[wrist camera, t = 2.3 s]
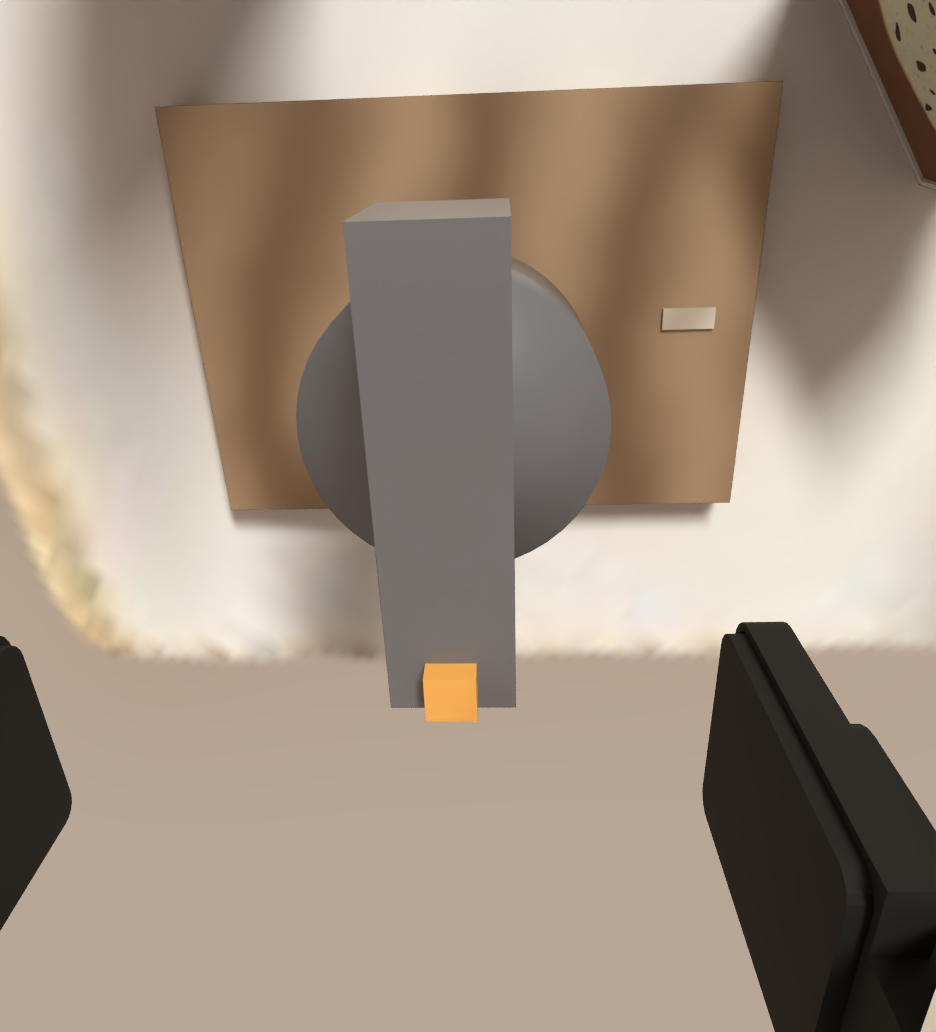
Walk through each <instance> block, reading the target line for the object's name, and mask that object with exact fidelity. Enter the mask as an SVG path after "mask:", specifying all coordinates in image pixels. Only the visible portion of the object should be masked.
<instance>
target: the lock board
mask: <svg viewBox="0 0 936 1032" xmlns="http://www.w3.org/2000/svg"><path fill="white" fill-rule="evenodd" d="M782 85H783V81H767V82H743V83H719V84H695V85H670V86H646V87H622V88H598V89H574V90H550V91H526V92H502V93H478V94H454V95H429V96H405V97H381V98H357V99H333V100H309V101H285V102H261V103H237V104H213V105H188V106H164V107H155V111H156V116H157V121H158V127H159V132H160V137H161V142H162V148H163V153H164V158H165V164H166V169H167V174H168V179H169V185H170V190H171V195H172V201H173V206H174V211H175V216H176V222H177V227H178V232H179V237H180V243H181V248H182V253H183V259H184V264H185V269H186V274H187V280H188V285H189V290H190V296H191V301H192V306H193V311H194V317H195V322H196V327H197V333H198V338H199V343H200V348H201V354H202V359H203V364H204V370H205V375H206V380H207V385H208V391H209V396H210V401H211V407H212V412H213V417H214V422H215V428H216V433H217V438H218V444H219V449H220V454H221V459H222V465H223V470H224V475H225V481H226V486H227V491H228V496H229V502H230V507H231V510H254V509H322V508H328V506H327V505H326V504H325V502H324V501H323V499H322V498H321V496H320V495H319V493H318V492H317V490H316V488H315V486H314V484H313V483H312V481H311V479H310V477H309V475H308V472H307V470H306V467H305V464H304V461H303V458H302V455H301V451H300V446H299V442H298V437H297V425H296V408H297V396H298V391H299V386H300V381H301V377H302V374H303V371H304V369H305V366H306V363H307V360H308V358H309V356H310V354H311V352H312V350H313V349H314V347H315V345H316V343H317V341H318V340H319V338H320V337H321V336H322V334H323V333H324V331H325V330H326V329H327V327H328V326H329V325H330V323H331V322H332V321H333V320H334V319H335V318H336V317H337V315H338V314H339V313H340V312H341V311H342V310H343V309H344V307H345V306H346V305H347V304H348V303H349V302H350V293H349V283H348V273H347V263H346V253H345V243H344V233H343V223H342V222H343V221H345V220H347V219H348V218H350V217H352V216H353V215H355V214H357V213H359V212H360V211H362V210H364V209H365V208H367V207H369V206H370V205H372V204H374V203H380V202H409V201H438V200H467V199H496V198H509V201H510V211H511V257H513V258H515V259H517V260H519V261H521V262H523V263H525V264H527V265H529V266H530V267H532V268H533V269H535V270H536V271H538V272H539V273H541V274H542V275H543V276H545V277H546V278H547V279H548V280H549V281H550V282H551V283H552V284H554V285H555V286H556V287H557V288H558V289H559V291H560V292H561V293H562V294H563V295H564V296H565V298H566V299H567V300H568V301H569V303H570V304H571V306H572V307H573V309H574V310H575V312H576V313H577V315H578V317H579V319H580V321H581V323H582V325H583V327H584V329H585V332H586V334H587V336H588V339H589V341H590V344H591V346H592V349H593V351H594V353H595V356H596V358H597V361H598V363H599V366H600V368H601V371H602V374H603V377H604V380H605V383H606V387H607V390H608V396H609V402H610V408H611V436H610V444H609V451H608V454H607V458H606V462H605V466H604V469H603V471H602V474H601V476H600V479H599V481H598V484H597V486H596V488H595V489H594V491H593V493H592V494H591V496H590V498H589V500H588V501H587V503H586V504H585V505H593V504H661V503H729V502H730V497H731V489H732V481H733V473H734V465H735V457H736V449H737V441H738V433H739V426H740V418H741V410H742V402H743V394H744V386H745V378H746V370H747V362H748V354H749V346H750V338H751V330H752V323H753V315H754V307H755V299H756V291H757V283H758V275H759V267H760V259H761V251H762V243H763V235H764V227H765V220H766V212H767V204H768V196H769V188H770V180H771V172H772V164H773V156H774V148H775V140H776V132H777V124H778V117H779V109H780V101H781V93H782Z"/></svg>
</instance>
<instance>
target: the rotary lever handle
mask: <svg viewBox="0 0 936 1032" xmlns="http://www.w3.org/2000/svg"><path fill="white" fill-rule="evenodd" d="M342 223H343V233H344V243H345V253H346V263H347V273H348V283H349V293H350V302H349V303H348V304H347V305H346V306H345V307H344V309H343V310H342V311H341V312H340V313H339V314H338V315H337V317H336V318H335V319H334V320H333V321H332V322H331V323H330V325H329V326H328V327H327V329H326V330H325V331H324V333H323V334H322V336H321V337H320V338H319V340H318V341H317V343H316V345H315V347H314V349H313V350H312V352H311V354H310V356H309V358H308V360H307V363H306V366H305V369H304V371H303V374H302V377H301V381H300V386H299V391H298V396H297V408H296V425H297V437H298V442H299V446H300V451H301V455H302V458H303V461H304V464H305V467H306V470H307V472H308V475H309V477H310V479H311V481H312V483H313V484H314V486H315V488H316V490H317V492H318V493H319V495H320V496H321V498H322V499H323V501H324V502H325V504H326V505H327V506H328V508H329V509H330V510H331V511H332V512H333V513H334V514H335V516H336V517H337V518H338V519H339V520H340V521H341V522H342V523H343V524H344V525H345V526H347V527H348V528H349V529H350V530H351V531H352V532H353V533H355V534H356V535H357V536H359V537H360V538H362V539H363V540H364V541H366V542H367V543H369V544H370V545H372V546H374V547H375V552H376V562H377V572H378V582H379V592H380V602H381V612H382V622H383V632H384V642H385V652H386V662H387V671H388V681H389V691H390V702H391V707H392V708H396V707H397V708H405V707H406V708H410V707H411V708H414V707H415V708H418V707H419V708H421V707H422V708H425V715H426V721H477V719H478V707H516V669H515V668H516V663H515V562H514V559H515V558H517V557H519V556H522V555H524V554H526V553H528V552H531V551H532V550H534V549H536V548H538V547H539V546H541V545H543V544H544V543H546V542H548V541H549V540H550V539H551V538H553V537H554V536H555V535H557V534H558V533H559V532H561V531H562V530H563V529H564V528H565V527H566V526H567V525H568V524H569V523H570V522H571V521H572V520H573V519H574V518H575V517H576V516H577V514H578V513H579V512H580V510H581V509H582V508H583V507H584V505H585V504H586V503H587V501H588V500H589V498H590V496H591V494H592V493H593V491H594V489H595V488H596V486H597V484H598V481H599V479H600V476H601V474H602V471H603V469H604V466H605V462H606V458H607V454H608V451H609V444H610V436H611V408H610V402H609V396H608V390H607V387H606V383H605V380H604V377H603V374H602V371H601V368H600V366H599V363H598V361H597V358H596V356H595V353H594V351H593V349H592V346H591V344H590V341H589V339H588V336H587V334H586V332H585V329H584V327H583V325H582V323H581V321H580V319H579V317H578V315H577V313H576V312H575V310H574V309H573V307H572V306H571V304H570V303H569V301H568V300H567V299H566V298H565V296H564V295H563V294H562V293H561V292H560V291H559V289H558V288H557V287H556V286H555V285H554V284H552V283H551V282H550V281H549V280H548V279H547V278H546V277H545V276H543V275H542V274H541V273H539V272H538V271H536V270H535V269H533V268H532V267H530V266H529V265H527V264H525V263H523V262H521V261H519V260H517V259H515V258H513V257H511V211H510V201H509V198H496V199H467V200H438V201H409V202H380V203H374V204H372V205H370V206H369V207H367V208H365V209H364V210H362V211H360V212H359V213H357V214H355V215H353V216H352V217H350V218H348V219H347V220H345V221H343V222H342Z"/></svg>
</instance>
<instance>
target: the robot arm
mask: <svg viewBox="0 0 936 1032" xmlns="http://www.w3.org/2000/svg"><path fill="white" fill-rule="evenodd" d="M71 805H72V797H71V792H70V789H69V786H68V783H67V780H66V777H65V775H64V772H63V769H62V766H61V763H60V760H59V758H58V755H57V752H56V749H55V746H54V743H53V740H52V737H51V734H50V731H49V729H48V726H47V723H46V720H45V717H44V714H43V711H42V708H41V706H40V703H39V700H38V697H37V694H36V691H35V689H34V686H33V683H32V680H31V677H30V674H29V671H28V668H27V665H26V663H25V660H24V657H23V655H22V653H21V651H20V650H19V649H18V648H17V647H15V646H11V645H10V643H9V641H7V639H6V638H5V637H2V636H0V930H1V929H2V927H3V925H4V924H5V922H6V920H7V919H8V917H9V915H10V913H11V912H12V911H13V909H14V907H15V906H16V904H17V902H18V901H19V899H20V897H21V896H22V894H23V893H24V891H25V889H26V888H27V886H28V884H29V883H30V881H31V879H32V878H33V876H34V875H35V873H36V871H37V869H38V868H39V866H40V864H41V863H42V861H43V860H44V858H45V856H46V855H47V853H48V851H49V850H50V848H51V847H52V845H53V843H54V842H55V840H56V838H57V837H58V835H59V833H60V832H61V830H62V829H63V827H64V825H65V824H66V822H67V820H68V818H69V814H70V811H71ZM703 805H704V811H705V814H706V818H707V821H708V824H709V828H710V831H711V834H712V837H713V840H714V843H715V846H716V849H717V852H718V856H719V859H720V862H721V865H722V868H723V871H724V874H725V878H726V881H727V884H728V887H729V890H730V893H731V896H732V899H733V902H734V906H735V909H736V912H737V915H738V918H739V921H740V924H741V927H742V931H743V934H744V936H745V940H746V943H747V946H748V949H749V952H750V956H751V958H752V962H753V965H754V968H755V971H756V974H757V977H758V980H759V983H760V987H761V990H762V993H763V996H764V999H765V1002H766V1005H767V1008H768V1012H769V1014H770V1018H771V1021H772V1024H773V1027H774V1030H775V1032H936V831H935V829H934V828H933V826H932V825H931V823H930V822H929V820H928V818H927V817H926V815H925V814H924V812H923V811H922V809H921V808H920V806H919V804H918V803H917V801H916V800H915V798H914V797H913V795H912V793H911V792H910V790H909V789H908V787H907V786H906V784H905V783H904V781H903V779H902V778H901V776H900V775H899V773H898V772H897V770H896V769H895V767H894V766H893V764H892V762H891V761H890V759H889V758H888V756H887V755H886V753H885V752H884V750H883V749H882V747H881V745H880V744H879V742H878V741H877V739H876V738H875V736H874V735H873V734H872V733H871V731H870V730H869V729H868V728H867V727H865V726H863V725H861V724H850V723H849V721H848V719H847V718H846V716H845V715H844V713H843V711H842V710H841V708H840V706H839V705H838V703H837V702H836V700H835V698H834V697H833V695H832V693H831V692H830V690H829V689H828V687H827V685H826V684H825V682H824V681H823V679H822V677H821V676H820V674H819V672H818V671H817V669H816V667H815V666H814V664H813V663H812V661H811V659H810V658H809V656H808V654H807V653H806V651H805V650H804V648H803V646H802V645H801V643H800V641H799V640H798V638H797V637H796V635H795V633H794V632H793V630H792V628H791V627H790V626H789V625H788V624H787V623H785V622H743V623H740V624H739V625H738V627H737V629H736V634H725V635H724V637H723V639H722V644H721V651H720V658H719V666H718V674H717V682H716V690H715V697H714V704H713V712H712V720H711V727H710V735H709V743H708V750H707V758H706V767H705V773H704V782H703Z"/></svg>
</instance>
